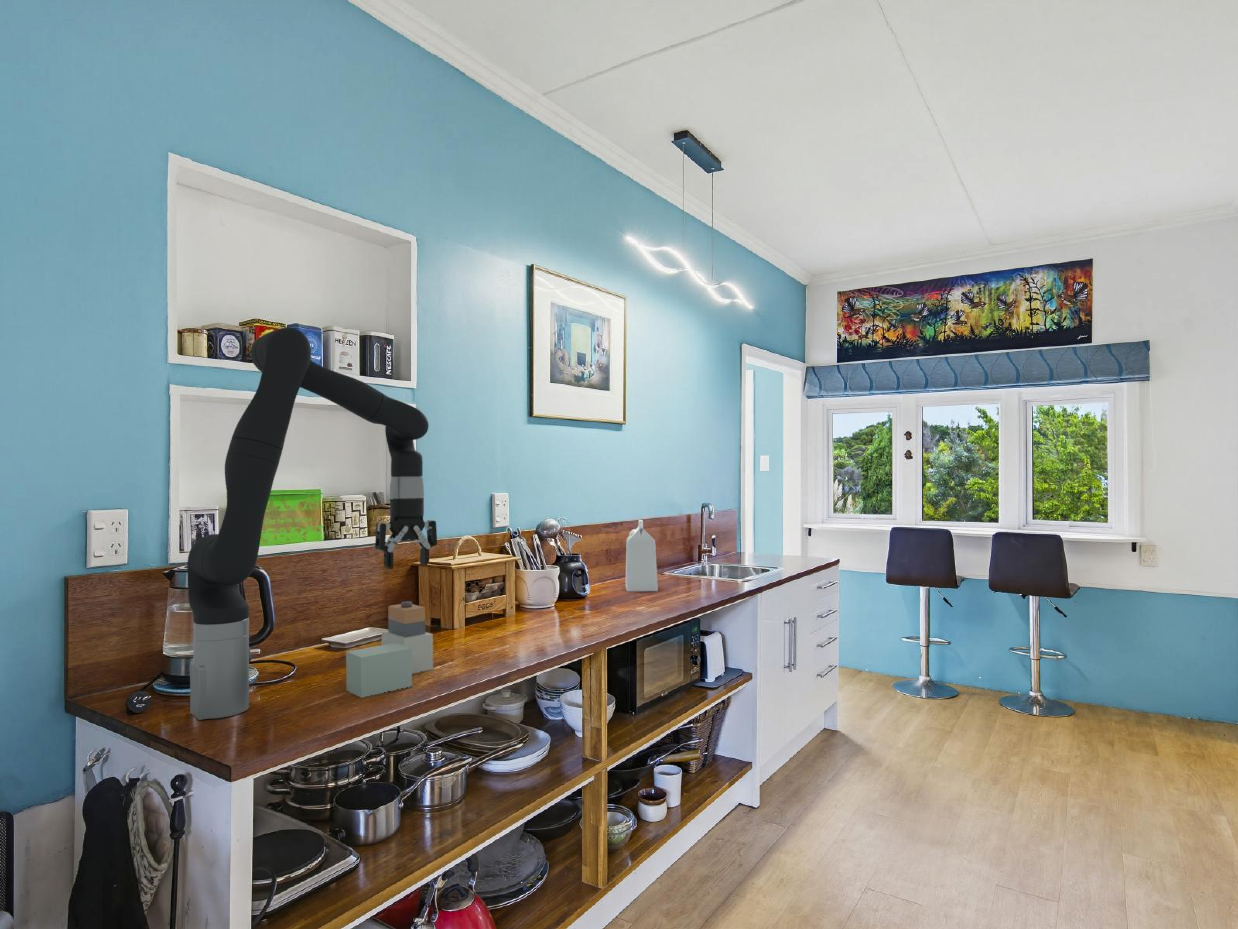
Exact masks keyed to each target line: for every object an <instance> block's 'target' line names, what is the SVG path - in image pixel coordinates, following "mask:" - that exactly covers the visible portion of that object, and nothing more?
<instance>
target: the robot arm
mask: <svg viewBox="0 0 1238 929" xmlns="http://www.w3.org/2000/svg"><path fill="white" fill-rule="evenodd" d="M250 357H251V358H250V359H251V360H252V363H253V365H254V366H255V368H257V370H258V371H259V372H261V376H260V379H259V383H258V387H257V389H256V390H255V393H254V395H253V397H252V399H251V401H250V402H249V404H248V405H247V407H246V408H245V410H244V412H243V414H242V415H241V417H240V418H239V420H238V422H237V424H236V426H235V429H234V431H233V434H232V436H231V439H230V443H229V446H228V449H227V453H226V456H225V461H224V481H225V489H226V490H225V491H226V508H225V511H224V512H225V514H224V517H223V520H222V522H221V526H220V528H219V530H218V531H219V532H218V533H213V534H212V533H211V534H206V535H204V536H202V537H200V538H199V539H197V540H196V541H195V542H194V543H193V544H192V545H191V548H190V551H189V553H188V555H187V556H188V557H187V564H186V565H187V567H186V568H187V570H186V572H187V574H186V575H187V594H188V604H189V607H190V609H191V612H192V618H193V661H191V662H189V663H190V664H189V675H190V676H189V678H190V680H189V686H190V687H189V701H190V702H189V705H190V706H189V707H190V708H189V709H190V710H189V712H190V714H191V715H192V716H193V717H195V718H196V719H197V720H198V721H202V720H208V719H222V718H228V717H233V716H235V715H239V714H241V713H243V712H246V711H247V710H248V709H250V639H249V638H250V607H249V604H248V602H247V601H246V599H245V598H244V597H243V595H242V594H241V592H240V590H239V584H241V583H243V582H245V581H246V580H247V579H248V578H249V577H250V576H251V574H252V573H253V571H254V569H255V568H256V564H257V561H258V556H259V550H260V545H261V544H260V543H261V540H262V539H261V538H262V530H263V525H264V521H265V520H264V518H265V514H266V510H267V507H268V502H269V500H270V496H271V493H272V491H271V490H272V488H273V484H274V480H275V477H276V474H277V471H278V467H279V465H280V462H281V461H280V460H281V456H282V454H283V450H284V445H285V440H286V437H287V432H288V429H289V426H290V423H291V422H290V421H291V418H292V414H293V409H294V405H295V402H296V398H297V396H298V393H299V391H300V388H301V389H303V390H306V391H308V392H311V393H312V394H316V395H317V396H319V397H321V398H323V399H326V400H328V401H330V402H332V403H334V404H335V405H337V406H340V407H341V408H343V409H345V410H347V411H349V412H350V413H352V414H354V415H356V416H357V417H360V418H361V419H363V420H366V421H367V422H369V423H372V424H375V425H382V426H385V428H384V429H385V430H384V431H385V438H386V442H387V443H386V444H387V448H388V452H389V455H390V459H391V461H390V484H389V518H390V520H389V523H384V522H377V523H376V526H375V541H374V545H375V546H374V548H375V549H376V550H379V551H382V552H383V566H384V567H385V568H386V569H387V570H393V569H394V552H393V550H394V549H395V547H396V546H397V545H398V544H399V543H400V542H407V541H414V542H416V543H417V544H418V545H419V547H420V549H419V565H420V566H427V565H428V563H430V549H431V548H433V547H437V545H438V536H437V535H438V534H437V533H438V531H437V522H436V520H434V519H433V520H432V519H431V520H430V519H428V520H426V521H424V514H425V511H424V510H425V498H424V497H425V492H424V491H425V488H424V487H425V486H424V478H423V472H424V471H423V468H424V467H423V465H424V463H423V455H422V454H421V453H420V452H418V451H417V450H416V449H415V443H414V441H415V440H420V439H422V438H423V437H424V436H425V435H426V434H427V432H428V431H429V421H428V418H427V417H426V415H425V414H424V413H423V411H421V410H420V409H418V408H416V407H415V406H412V405H410V404H408V403H406V402H403V401H400V400H398V399H395V398H392V397H389V396H388V395H386V394H384V393H383V392H381V391H380V390H378V389H376V388H374V386H371V385H369V384H368V383H365V382H363V381H362V380H359V379H357V378H354V377H353V376H349V375H346V374H343V373H341V372H337V371H334V370H331V369H329V368H327V367H325V366H322V365H321V364H318V363H316V362H315V361H312V348H311V344H310V341H309V339H308V337H307V336H306V334H304V333H303V332H302V331H301V330H299V329H297V328H294V327H282V328H278V329H274V330H272V331H269V332H267V333H265V334H262V335H261V336H260V337H258V338H256V340H255V341H254V342H253V343H252V345H251V348H250ZM424 529H425V530H426V536H425V535H424V533H423V532H422V531H423V530H424ZM388 530H389V531H390V532H391V533H390V535H389V536H388V538H387V537H386V535H387V533H388ZM386 539H387V540H386Z"/></svg>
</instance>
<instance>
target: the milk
mask: <svg viewBox="0 0 1238 929" xmlns="http://www.w3.org/2000/svg"><path fill="white" fill-rule="evenodd" d="M637 522H638V523H637V524H638V525H637V527H636V528H633V529H631V531H630V532H629V533H628V536H627V537H626V542H625V544H626V547H625V549H626V550H625V551H626V552H625V581H624V582H625V584H624V585H625V586H624V587H625V589H626V592H658V589H659V588H658V568H657V567H658V566H657V548H656V540H655V539H654V538H653V536H652V535H650V534H649V533H648V531H646V530H645V528H644V521H643V519H638V521H637Z"/></svg>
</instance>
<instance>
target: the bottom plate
mask: <svg viewBox="0 0 1238 929" xmlns="http://www.w3.org/2000/svg"><path fill="white" fill-rule="evenodd" d="M387 619H388V618H387ZM387 622H388V624H387V626H388V627H387V628H388V630H387V631H388V632H390V633H393V634H396V635H399V636H402V637H410V636H416V635H422V634H425V632H426V620H425V621H420V622H414V623H407V624H404V623H400V622H397V621H394V620H390V619H388V621H387Z"/></svg>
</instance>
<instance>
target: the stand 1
mask: <svg viewBox="0 0 1238 929" xmlns="http://www.w3.org/2000/svg"><path fill="white" fill-rule="evenodd" d="M345 654H346V656H345V657H346V658H345V660H346V662H345V664H346V673H345V674H346V675H345V676H346V678H345V681H346V684H345V685H346V688H345V689H346V690H345V691H346V692H348V691H349V693H351V694H352V695H355V696H357V697H358V698H361V699H362V698H367V697H371V695H372V696H376V695H380V694H384V692H385V693H389V692H388V691H390V692H394V691H397V689H399V690H402V689H401V688H403V689H407V687H408V688H411V687H410V686H412V687H413V674H412V648H410V647H407V646H404V645H401V644H398V643H392V644H386V645H382V644H381V645H376V646H370V647H364V648H360V649H359V648H358V649H353V650H349V651H348V650H347V651H346V653H345ZM366 696H367V697H366Z"/></svg>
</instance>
